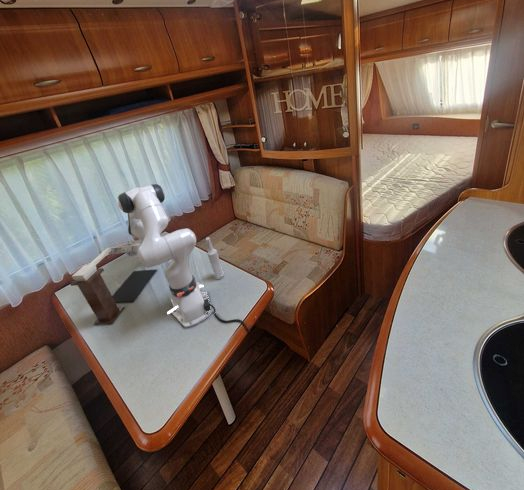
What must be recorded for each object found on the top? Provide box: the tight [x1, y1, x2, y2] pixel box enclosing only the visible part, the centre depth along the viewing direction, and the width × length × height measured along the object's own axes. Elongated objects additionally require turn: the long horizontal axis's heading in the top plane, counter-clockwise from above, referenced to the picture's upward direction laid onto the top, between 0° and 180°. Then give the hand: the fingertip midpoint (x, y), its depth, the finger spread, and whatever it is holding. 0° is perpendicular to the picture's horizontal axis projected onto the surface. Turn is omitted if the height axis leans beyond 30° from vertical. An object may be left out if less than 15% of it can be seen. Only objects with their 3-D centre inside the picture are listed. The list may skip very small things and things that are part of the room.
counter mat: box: [112, 269, 157, 304], centre depth 156 cm, size 26×16×1 cm, turn 172°
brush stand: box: [69, 267, 125, 325], centre depth 132 cm, size 10×10×26 cm
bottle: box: [205, 236, 225, 281], centre depth 144 cm, size 5×5×25 cm
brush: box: [71, 247, 112, 281], centre depth 132 cm, size 22×6×3 cm, turn 172°
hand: (115, 250), depth 146 cm, fingers open, 8 cm apart
